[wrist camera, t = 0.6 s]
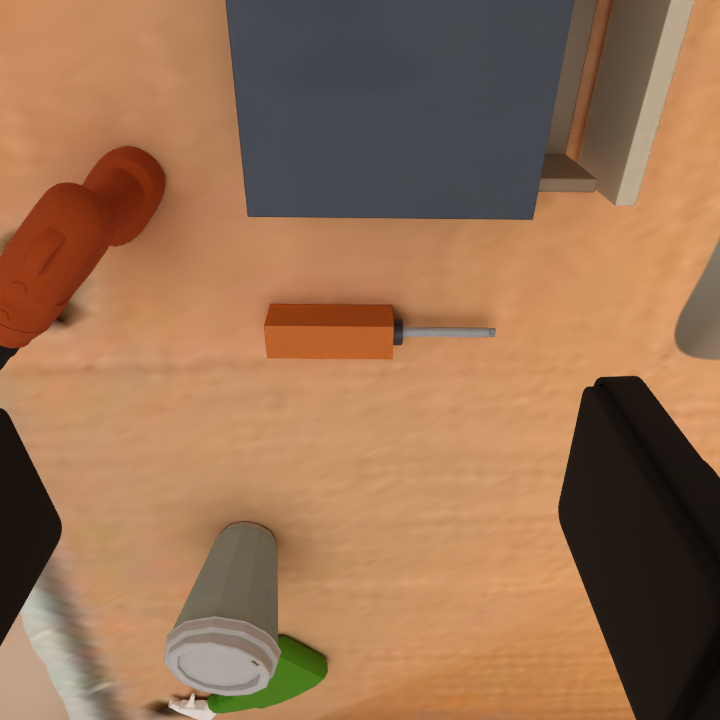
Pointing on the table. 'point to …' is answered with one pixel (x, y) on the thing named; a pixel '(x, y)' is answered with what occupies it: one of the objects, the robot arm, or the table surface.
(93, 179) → the toy drill
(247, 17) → the dresser
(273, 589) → the disposable coffee cup
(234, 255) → the table surface
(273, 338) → the screwdriver
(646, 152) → the drawer
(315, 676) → the spray bottle
